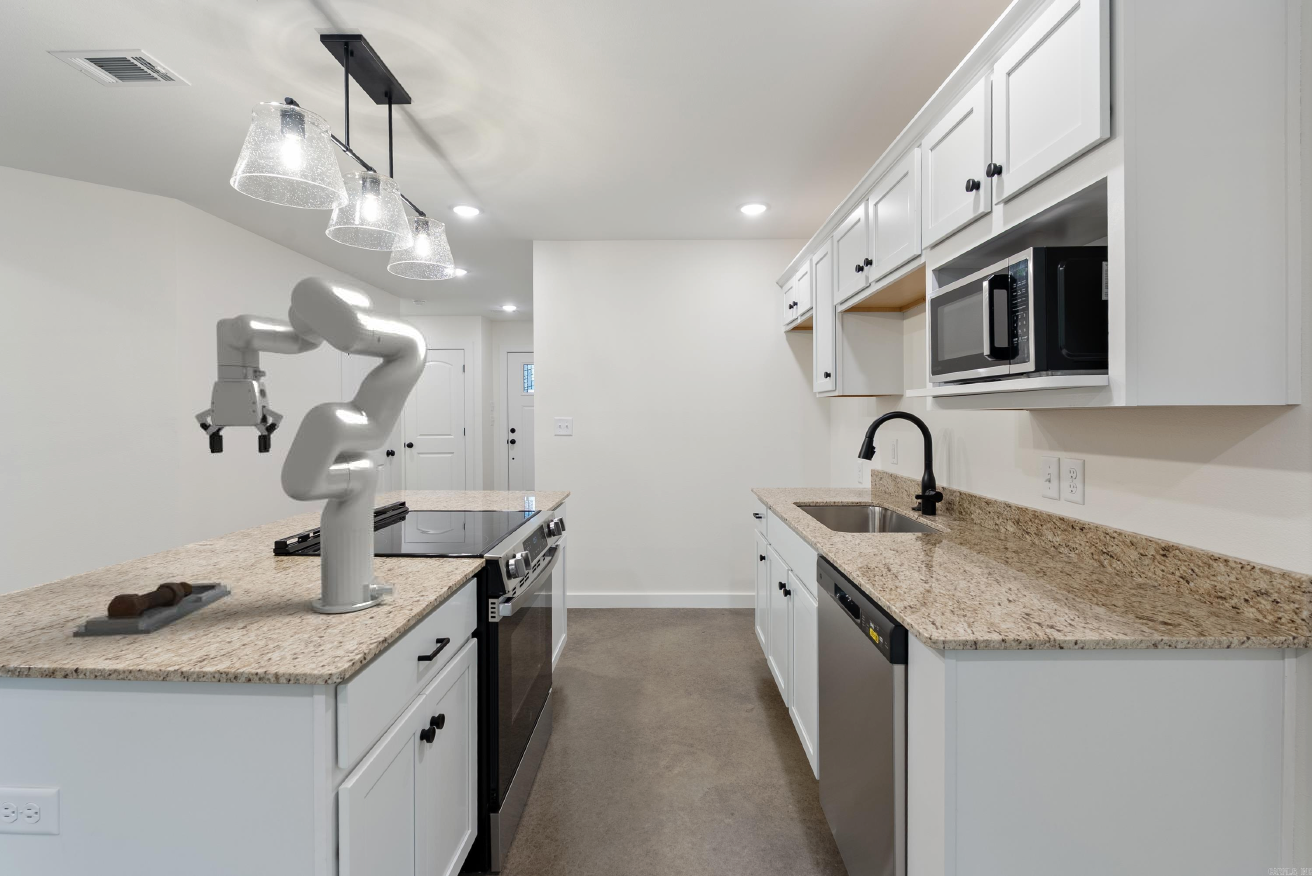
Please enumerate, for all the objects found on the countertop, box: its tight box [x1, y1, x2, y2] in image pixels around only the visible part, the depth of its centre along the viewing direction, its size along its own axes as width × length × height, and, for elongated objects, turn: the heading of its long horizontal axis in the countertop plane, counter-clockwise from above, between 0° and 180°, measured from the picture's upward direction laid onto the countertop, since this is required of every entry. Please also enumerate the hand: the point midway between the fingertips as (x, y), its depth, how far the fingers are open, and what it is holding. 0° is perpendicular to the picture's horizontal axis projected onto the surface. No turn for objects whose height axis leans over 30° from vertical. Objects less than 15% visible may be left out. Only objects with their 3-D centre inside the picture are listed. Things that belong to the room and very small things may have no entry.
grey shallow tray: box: [77, 582, 228, 632], centre depth 109 cm, size 10×23×2 cm, turn 8°
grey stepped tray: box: [72, 589, 232, 638], centre depth 109 cm, size 12×23×1 cm, turn 8°
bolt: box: [106, 581, 193, 617], centre depth 108 cm, size 6×5×15 cm
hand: (240, 452), depth 125 cm, fingers open, 9 cm apart
